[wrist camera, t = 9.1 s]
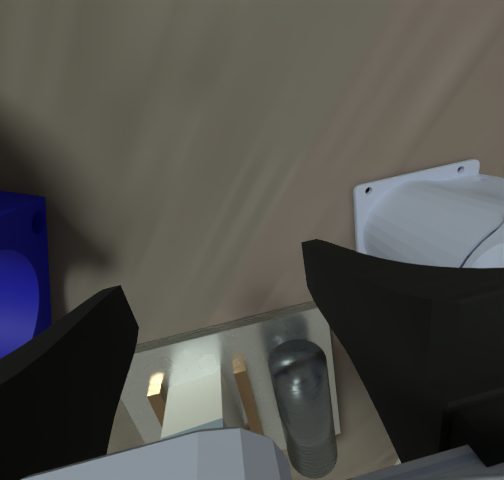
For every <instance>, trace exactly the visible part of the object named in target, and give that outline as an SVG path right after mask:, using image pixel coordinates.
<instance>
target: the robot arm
mask: <svg viewBox="0 0 504 480" xmlns="http://www.w3.org/2000/svg"><path fill="white" fill-rule="evenodd" d="M479 166H480V163H479V161H478V160H474V159H470V160H466V161H461V162H457V163H452V164H448V165H444V166H439V167H435V168H430V169H426V170H422V171H417V172H413V173H408V174H404V175H399V176H395V177H391V178H386V179H382V180H377V181H373V182H369V183H364V184H360V185H357V186H356V187H355V188H354V190H353V202H354V221H355V240H356V251H353V250H350V249H347V248H344V247H341V246H338V245H335V244H332V243H329V242H326V241H323V240H318V239H314V240H310V241H306V242H302V251H303V258H304V266H305V273H306V281H307V287H308V289H309V291H310V293H311V295H312V298H313V300H314V302H315V304H316V306H317V307H318V309H319V310H320V312H321V313H322V315H323V317H324V318H325V320H326V321H327V323H328V324H329V326H330V327H331V329H332V330H333V332H334V333H335V335H336V336H337V338H338V339H339V341H340V342H341V344H342V345H343V347H344V348H345V350H346V352H347V353H348V355H349V357H350V358H351V360H352V362H353V364H354V366H355V368H356V370H357V372H358V374H359V376H360V378H361V379H362V381H363V383H364V385H365V387H366V389H367V391H368V393H369V395H370V397H371V399H372V402H373V404H374V406H375V408H376V410H377V412H378V414H379V416H380V418H381V420H382V422H383V424H384V426H385V429H386V431H387V433H388V435H389V437H390V439H391V441H392V443H393V446H394V448H395V450H396V452H397V454H398V457H399V459H400V461H401V463H402V464H398V465H395V466H391V467H388V468H384V469H381V470H377V471H374V472H371V473H367V474H364V475H360V476H357V477H353V478H350V479H346V480H504V178H501V177H495V176H490V175H484V174H479ZM459 167H460V170H459V171H458V168H459ZM368 187H369V192H368V193H365V190H366V189H367V188H368ZM138 330H139V327H138V324H137V322H136V320H135V318H134V315H133V313H132V311H131V308H130V306H129V304H128V301H127V299H126V297H125V295H124V292H123V290H122V288H121V285H119V286H115V287H111V288H107V289H104V290H102V291H100V292H98V293H97V294H95V295H93V296H92V297H90V298H89V299H88V300H86V301H85V302H83V303H82V304H81V305H79V306H78V307H76V308H75V309H74V310H72V311H71V312H70V313H68V314H67V315H66V316H64V317H63V318H61V319H60V320H59V321H57V322H56V323H54V324H53V325H51V326H50V327H49V328H47V329H46V330H44V331H43V332H41V333H40V334H38V335H37V336H36V337H34V338H33V339H31V340H30V341H28V342H27V343H25V344H24V345H22V346H20V347H19V348H17V349H16V350H14V351H12V352H11V353H9V354H7V355H6V356H4V357H2V358H1V359H0V480H292V477H291V472H290V468H289V464H288V460H287V458H286V456H285V455H284V454H283V452H282V451H281V450H280V448H279V447H278V446H277V444H276V443H275V442H274V440H273V439H272V438H270V437H267V436H265V435H262V434H259V433H256V432H253V431H250V430H247V429H244V428H241V427H238V426H232V427H221V428H209V429H200V430H196V431H192V432H189V433H185V434H181V435H178V436H174V437H170V438H166V439H163V440H159V441H155V442H152V443H148V444H144V445H140V446H137V447H133V448H129V449H125V450H122V451H118V452H114V453H111V454H107V448H108V444H109V439H110V434H111V430H112V425H113V420H114V417H115V413H116V409H117V406H118V403H119V400H120V397H121V394H122V391H123V388H124V385H125V381H126V378H127V375H128V372H129V369H130V366H131V363H132V360H133V356H134V353H135V349H136V343H137V337H138ZM106 454H107V455H106Z"/></svg>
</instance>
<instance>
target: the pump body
mask: <svg viewBox="0 0 504 480" xmlns="http://www.w3.org/2000/svg"><path fill="white" fill-rule="evenodd" d="M232 426H238V427H241V428H244V429H245V426H244V422H243V419H242V417H241V415H240V413H239V411H238V408H237V406H236V404H235V402H234V400H233V397H232V395H231V393H230V391H229V389H228V386H227V384H226V382H225V380H224V377H223V375H222V373H221V371H217V372H214V373H211V374H208V375H205V376H202V377H199V378H196V379H193V380H190V381H187V382H184V383H181V384H178V385H175V386H172V387H169V388H168V394H167V401H166V407H165V414H164V420H163V427H162V433H161V440H163V439H166V438H170V437H174V436H178V435H181V434H185V433H189V432H192V431H196V430H200V429H209V428H221V427H232Z"/></svg>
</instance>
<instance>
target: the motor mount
mask: <svg viewBox="0 0 504 480" xmlns="http://www.w3.org/2000/svg"><path fill="white" fill-rule="evenodd" d="M217 371H221V373H222V375H223V377H224V380H225V382H226V384H227V386H228V389H229V391H230V393H231V395H232V397H233V400H234V402H235V404H236V406H237V408H238V411H239V413H240V415H241V417H242V419H243V422H244V426H245V429H247V430H250V431H253V432H256V433H259V434H262V435H265V436H267V437H270V438H272V439H273V440H274V442H275V443H276V444H277V446H278V447H279V448H280V450H283V449H286V448H287V451H288V455H289V459H290V462H291V464H292V465H293V467H294V468H295V469H296V470H297V471H298V472H299V473H300V474H302V475H303V476H306V477H309V478H321V477H324V476H326V475H327V474H329V473H330V472H331V471H332V470H333V468H334V466H335V464H336V461H337V445H336V436H335V435H337V434H340V423H339V414H338V404H337V395H336V385H335V376H334V366H333V357H332V347H331V338H330V328H329V324H328V323H327V321H326V320H325V318H324V317H323V315H322V313H321V312H320V310H319V309H318V307H317V306H316V304H315V302H314V301H311V302H307V303H303V304H299V305H295V306H291V307H287V308H283V309H279V310H275V311H271V312H267V313H263V314H259V315H255V316H251V317H247V318H243V319H239V320H235V321H231V322H227V323H223V324H219V325H215V326H211V327H207V328H203V329H198V330H194V331H190V332H186V333H182V334H178V335H174V336H170V337H166V338H162V339H158V340H154V341H150V342H146V343H142V344H138V345H136V349H135V353H134V356H133V360H132V363H131V366H130V369H129V372H128V375H127V378H126V381H125V385H124V388H123V391H122V394H121V399H122V401H123V403H124V404H125V406H126V408H127V410H128V412H129V414H130V416H131V418H132V419H133V421H134V423H135V425H136V427H137V429H138V431H139V433H140V435H141V436H142V438H143V440H144V442H145V444H148V443H152V442H155V441H159V440H161V433H162V427H163V420H164V414H165V407H166V401H167V394H168V388H169V387H172V386H175V385H178V384H181V383H184V382H187V381H190V380H193V379H196V378H199V377H202V376H205V375H208V374H211V373H214V372H217Z"/></svg>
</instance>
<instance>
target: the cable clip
mask: <svg viewBox="0 0 504 480" xmlns="http://www.w3.org/2000/svg"><path fill="white" fill-rule="evenodd" d="M51 325H52V323H51V304H50V284H49V264H48V245H47V225H46V206H45V197H39V196H32V195H26V194H19V193H12V192H5V191H0V359H1V358H2V357H4V356H6V355H7V354H9V353H11V352H12V351H14V350H16V349H17V348H19V347H20V346H22V345H24V344H25V343H27V342H28V341H30V340H31V339H33V338H34V337H36V336H37V335H38V334H40V333H41V332H43V331H44V330H46V329H47V328H49V327H50V326H51Z"/></svg>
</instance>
